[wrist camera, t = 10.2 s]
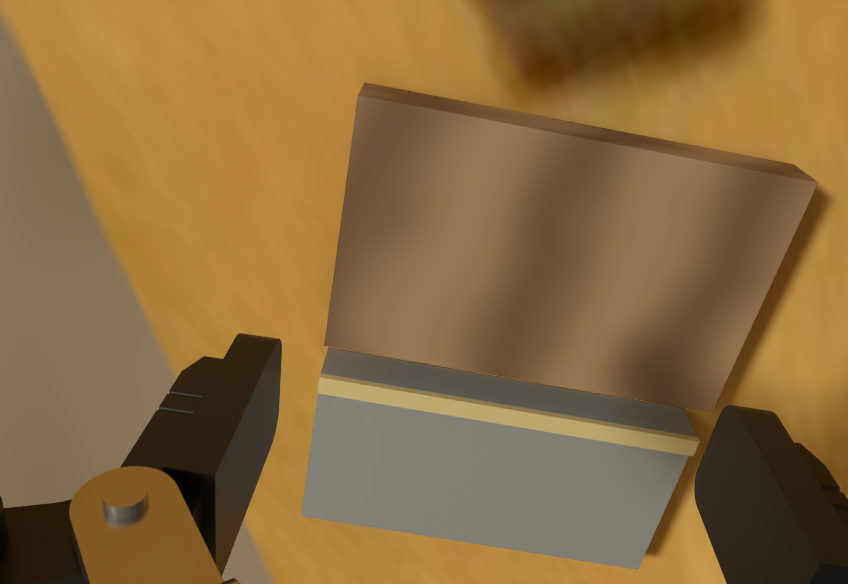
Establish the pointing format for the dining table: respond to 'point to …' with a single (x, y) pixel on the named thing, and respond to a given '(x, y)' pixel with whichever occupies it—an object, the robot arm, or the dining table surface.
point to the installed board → (492, 459)
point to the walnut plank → (554, 248)
